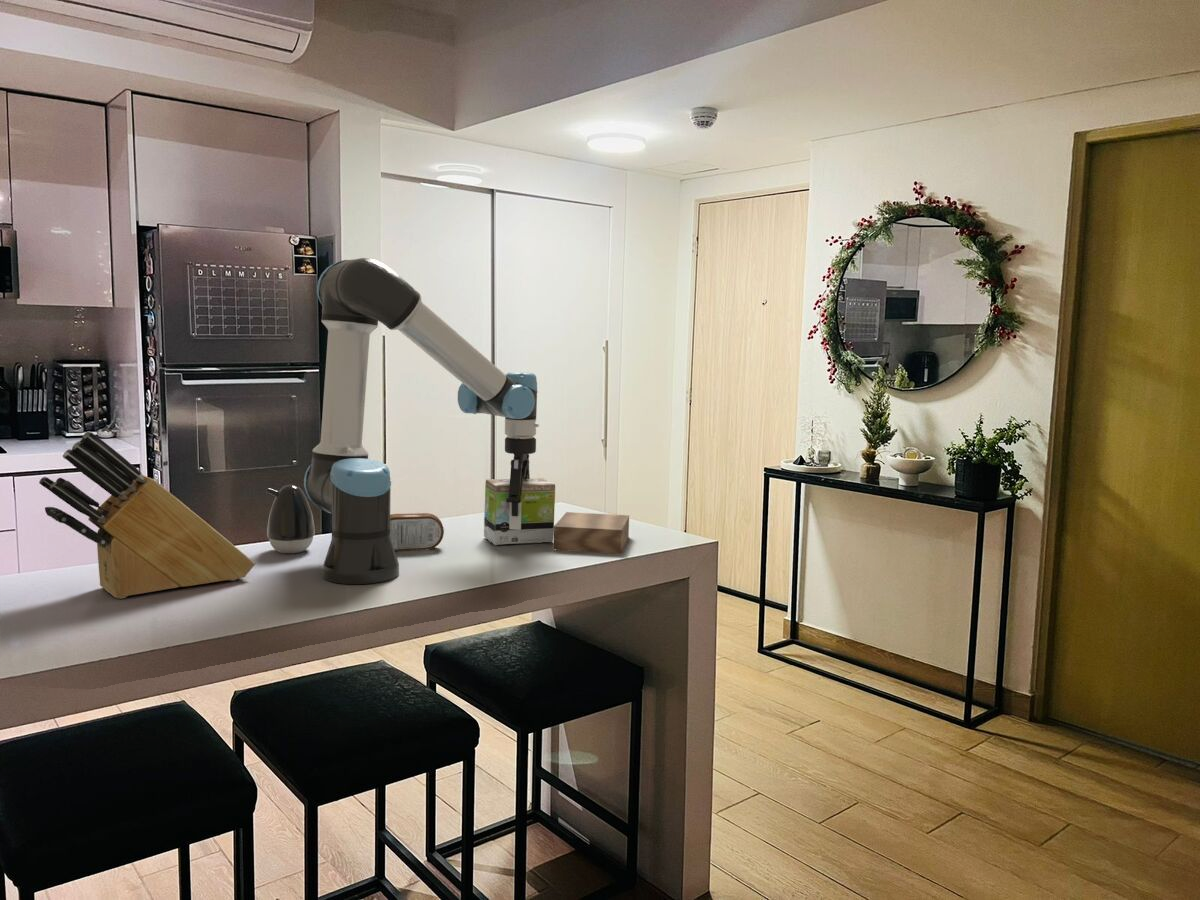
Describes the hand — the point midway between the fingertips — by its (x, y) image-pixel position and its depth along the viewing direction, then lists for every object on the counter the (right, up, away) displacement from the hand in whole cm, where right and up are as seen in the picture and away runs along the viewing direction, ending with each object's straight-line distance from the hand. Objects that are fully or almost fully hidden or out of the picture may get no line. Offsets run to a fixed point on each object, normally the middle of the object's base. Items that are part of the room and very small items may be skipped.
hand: (519, 523), depth 227 cm
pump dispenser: (-50, -5, -17) cm, 53 cm away
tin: (-24, -5, -12) cm, 27 cm away
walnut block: (+18, -5, 0) cm, 19 cm away
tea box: (0, -4, 0) cm, 4 cm away
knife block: (-66, -9, -48) cm, 82 cm away
